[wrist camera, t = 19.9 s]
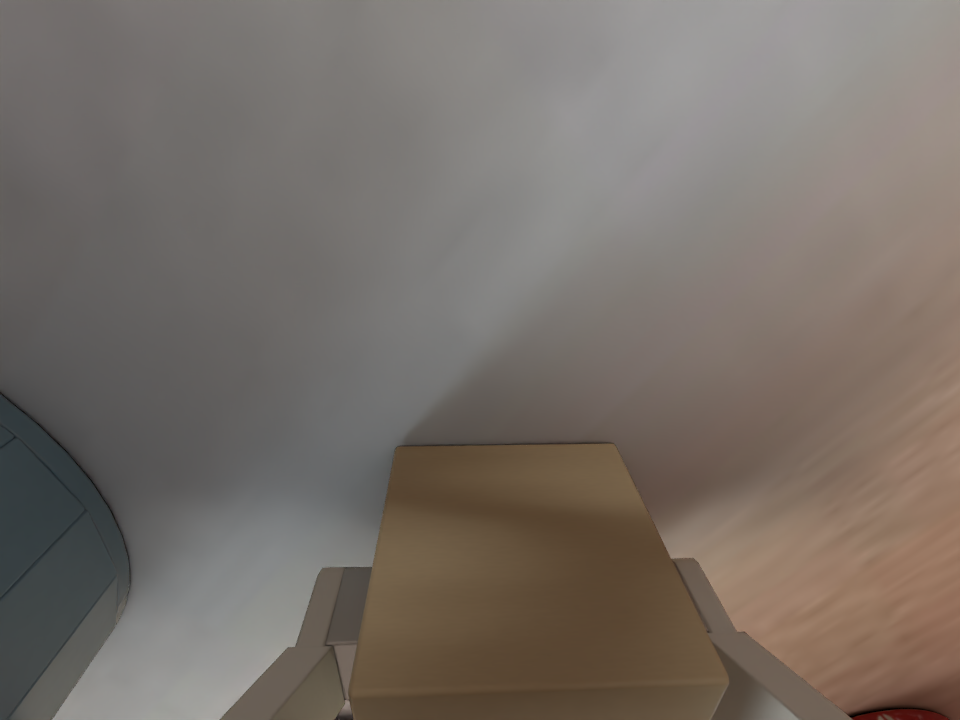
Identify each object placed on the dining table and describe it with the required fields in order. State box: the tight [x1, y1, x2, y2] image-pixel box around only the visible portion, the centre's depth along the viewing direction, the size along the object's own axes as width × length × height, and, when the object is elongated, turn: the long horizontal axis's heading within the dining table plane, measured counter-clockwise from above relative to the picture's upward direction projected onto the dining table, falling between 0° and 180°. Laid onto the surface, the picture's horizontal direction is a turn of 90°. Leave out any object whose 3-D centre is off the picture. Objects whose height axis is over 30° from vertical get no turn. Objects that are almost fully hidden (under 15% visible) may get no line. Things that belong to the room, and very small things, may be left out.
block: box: [348, 443, 729, 720], centre depth 9 cm, size 5×5×5 cm
